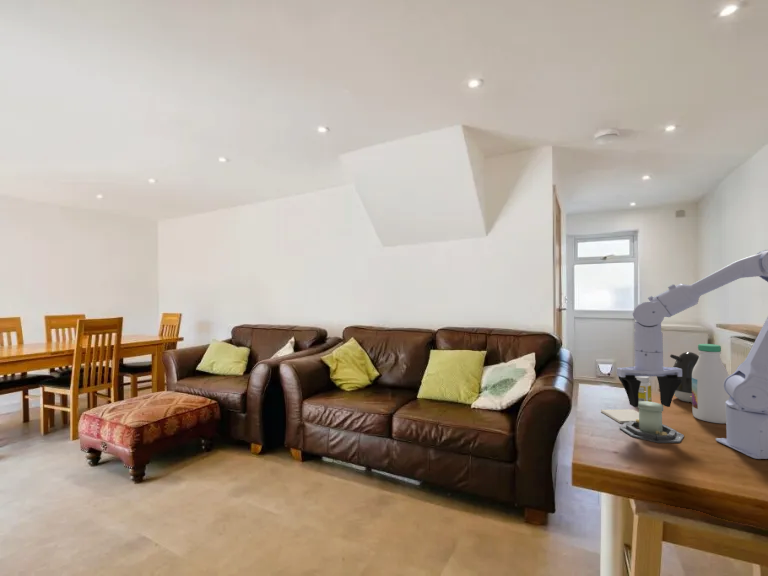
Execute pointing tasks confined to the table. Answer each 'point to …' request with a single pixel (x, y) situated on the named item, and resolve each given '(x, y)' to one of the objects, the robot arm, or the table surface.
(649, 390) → the supplement bottle
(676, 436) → the bayonet collar
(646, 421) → the pale green jar
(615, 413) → the plate
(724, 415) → the milk bottle
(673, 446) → the table surface
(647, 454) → the table surface
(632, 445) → the table surface
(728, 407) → the robot arm
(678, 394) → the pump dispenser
